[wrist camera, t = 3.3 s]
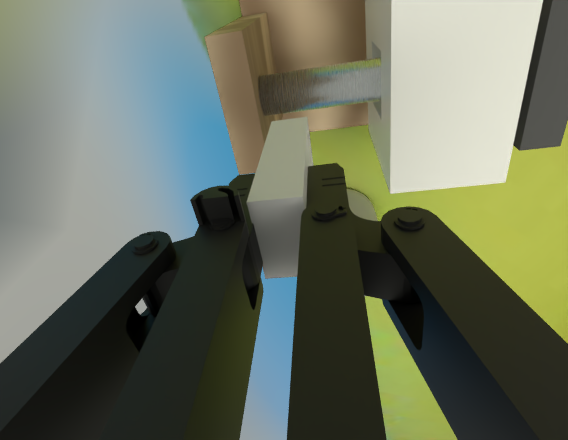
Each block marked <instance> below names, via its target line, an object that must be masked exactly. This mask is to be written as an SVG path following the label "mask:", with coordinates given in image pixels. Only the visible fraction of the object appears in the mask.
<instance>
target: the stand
mask: <svg viewBox="0 0 568 440" xmlns="http://www.w3.org/2000/svg"><path fill="white" fill-rule="evenodd" d="M239 3H240V8H241V13H242V17H240V18H238V19H236V20H235V21H233V22H231V23H229V24H227V25H225V26H224V27H222V28H220V29H218V30H216V31H214V32H213V33H211V34H209V35H207V36H205V37H204V38H205V42H206V45H207V49H208V53H209V57H210V61H211V65H212V69H213V73H214V77H215V81H216V85H217V89H218V93H219V97H220V101H221V104H222V108H223V112H224V117H225V121H226V125H227V128H228V132H229V136H230V140H231V144H232V148H233V152H234V156H235V160H236V164H237V168H238V172H239V175H240V174H249V173H256V170H257V167H258V164H259V160H260V157H261V154H262V151H263V148H264V144H265V141H266V138H267V135H268V131H269V128H270V125H271V122H272V121H278V120H286V119H293V118H301V117H307V118H308V126H309V132H313V131H321V130H329V129H336V128H344V127H352V126H360V125H368V102H365V103H358V104H350V105H343V106H335V107H328V108H321V109H313V110H306V111H298V112H291V113H284V114H276V115H269V116H264V114H263V111H262V108H261V104H260V98H259V91H258V77H259V76H262V75H269V74H276V73H282V72H289V71H295V70H302V69H308V68H315V67H321V66H328V65H335V64H341V63H348V62H354V61H361V60H367V55H366V20H365V0H239Z"/></svg>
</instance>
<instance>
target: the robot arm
mask: <svg viewBox="0 0 568 440" xmlns="http://www.w3.org/2000/svg"><path fill="white" fill-rule="evenodd" d="M190 201H191V203H192V206H193V209H194V212H195V215H196V218H197V221H198V224H199V227H198V229H197V231H196V234H195V236H193V237H191V238H188V239H184V240H181V241H177V242H174V243H172V241H171V238H170V236H169V235H168V234H167V233H164V232H160V231H156V232H147V233H144V234H141V235H139V236H138V237H136V238H134V239H133V240H131V241H129V242H128V243H127V244H126V245H125V246H123V247H122V248H121V249H120V250H119V251H118V252H117V253H116V254H115V255H114V256H113V257H112V258H111V259H110V260H109V261H108V262H107V263H106V264H105V265H103V267H101V268H100V269H99V270H98V271H97V272H96V273H95V274H94V275H93V276H92V277H91V278H90V279H89V280H88V281H87V282H86V283H85V284H83V285H82V286H81V287H80V288H79V289H78V290H77V291H76V292H75V293H74V294H73V295H72V296H71V297H70V298H69V299H68V300H67V301H66V302H65V303H64V304H62V306H60V307H59V308H58V309H57V310H56V311H55V312H54V313H53V314H52V315H51V316H50V317H49V318H48V319H47V320H46V321H45V322H44V323H43V324H42V325H40V326H39V327H38V328H37V329H36V330H35V331H34V332H33V333H32V334H31V335H30V336H29V337H28V338H27V339H26V340H25V341H24V342H23V343H21V344H20V346H18V347H17V348H16V349H15V350H14V351H13V352H12V353H11V354H10V355H9V356H8V357H7V358H6V359H5V360H4V361H3V362H1V363H0V440H239V438H240V431H241V426H242V419H243V414H244V407H245V400H246V395H247V388H248V383H249V377H250V370H251V364H252V358H253V352H254V346H255V340H256V333H257V327H258V321H259V315H260V309H261V303H262V297H263V284H262V281H261V277H260V276H261V271H262V266H263V270H264V274H265V278H266V279H268V278H281V277H296V276H297V289H296V304H295V321H294V336H293V352H292V367H291V383H290V399H289V414H288V430H287V440H386V433H385V427H384V420H383V414H382V407H381V401H380V394H379V388H378V381H377V375H376V368H375V362H374V355H373V348H372V342H371V335H370V329H369V322H368V316H367V309H366V303H365V296H370V297H375V298H380V299H382V301H383V305H384V307H385V309H386V310H387V312H388V314H389V316H390V318H391V320H392V321H393V323H394V325H395V327H396V329H397V330H398V332H399V334H400V336H401V338H402V339H403V341H404V343H405V345H406V347H407V348H408V350H409V352H410V354H411V356H412V358H413V359H414V361H415V363H416V365H417V367H418V368H419V370H420V372H421V374H422V376H423V377H424V379H425V381H426V383H427V385H428V387H429V388H430V390H431V392H432V394H433V396H434V397H435V399H436V401H437V403H438V405H439V406H440V408H441V410H442V412H443V414H444V415H445V417H446V419H447V421H448V423H449V425H450V426H451V428H452V430H453V432H454V434H455V435H456V437H457V439H458V440H568V344H567V343H566V342H565V341H564V340H563V339H562V338H561V337H560V336H559V335H558V334H557V333H556V332H555V331H554V330H553V329H552V328H551V327H550V326H549V325H548V324H547V323H546V322H545V321H544V320H543V319H542V318H541V317H540V316H539V315H538V314H537V313H536V312H535V311H534V310H533V309H532V308H530V307H529V306H528V305H527V304H526V303H525V302H524V301H523V300H522V299H521V298H520V297H519V296H518V295H517V294H516V293H515V292H514V291H513V290H512V289H511V288H510V287H509V286H508V285H507V284H506V283H505V282H504V281H503V280H502V279H501V278H500V277H499V276H498V275H497V274H496V273H495V272H494V271H493V270H491V269H490V268H489V267H488V266H487V265H486V264H485V263H484V262H483V261H482V260H481V259H480V258H479V257H478V256H477V255H476V254H475V253H474V252H473V251H472V250H471V249H470V248H469V247H468V246H467V245H466V244H465V243H464V242H463V241H462V240H461V239H460V238H459V237H458V236H457V235H456V234H455V233H454V232H452V231H451V230H450V229H449V228H448V227H447V226H446V225H445V224H444V223H443V222H442V221H441V220H440V219H439V218H438V217H437V216H436V215H435V214H433V213H432V212H430V211H428V210H425V209H422V208H418V207H400V208H396V209H393V210H390V211H388V212H387V213H386V214H384V215H383V217H382V220H381V221H372V220H367V219H363V218H360V217H358V216H357V215H355V214H354V213H353V212H352V211H351V210H350V207H349V202H348V195H347V189H346V182H345V176H344V169H343V168H342V167H340V166H339V165H338V164H337V163H333V164H324V165H316V166H313V158H312V150H311V142H310V134H309V126H308V118H307V117H301V118H293V119H286V120H278V121H272V122H271V125H270V128H269V131H268V135H267V138H266V141H265V144H264V148H263V151H262V154H261V157H260V160H259V164H258V167H257V170H256V173H255V174H246V175H239V176H237V177H236V178H235V179H233V180H232V181H231V182H230V183H229V186H216V187H211V188H208V189H206V190H203V191H201V192H199V193H198V194H196V195H195V196H194V197H193V198H192V199H191V200H190ZM364 295H365V296H364ZM142 298H143V300H144V302H145V304H146V306H147V309H146V310H145V311H144V312H143V313H142V314H141V315H140V314H139V313H138V311H137V310H136V308H135V306H136V305H137V303H138V302H139V301H140V300H141V299H142Z"/></svg>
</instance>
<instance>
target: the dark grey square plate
mask: <svg viewBox="0 0 568 440" xmlns="http://www.w3.org/2000/svg"><path fill="white" fill-rule="evenodd" d="M567 121H568V0H543V3H542V8H541V13H540V18H539V23H538V28H537V32H536V37H535V42H534V47H533V52H532V56H531V61H530V66H529V71H528V76H527V81H526V85H525V90H524V95H523V100H522V105H521V109H520V114H519V119H518V124H517V129H516V134H515V138H514V143H513V145H514V146H515V147H516V148H517V149H518V150H529V149H538V148H547V147H556V146H560V145H561V142H562V138H563V135H564V131H565V128H566V124H567Z"/></svg>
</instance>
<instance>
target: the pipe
mask: <svg viewBox="0 0 568 440" xmlns="http://www.w3.org/2000/svg"><path fill="white" fill-rule="evenodd" d="M258 91H259V98H260V104H261V108H262V111H263V114H264V116H269V115H276V114H284V113H291V112H298V111H306V110H313V109H321V108H328V107H335V106H343V105H350V104H358V103H365V102H372V101H380V100H381V57H380V58H374V59H367V60H361V61H354V62H348V63H341V64H335V65H328V66H321V67H315V68H308V69H302V70H295V71H289V72H282V73H276V74H269V75H262V76H259V77H258Z"/></svg>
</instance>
